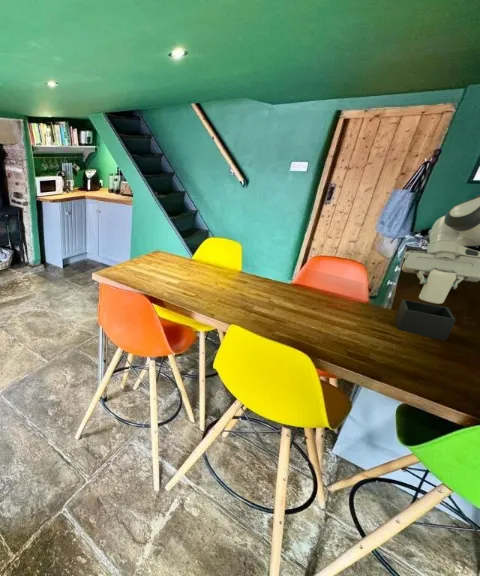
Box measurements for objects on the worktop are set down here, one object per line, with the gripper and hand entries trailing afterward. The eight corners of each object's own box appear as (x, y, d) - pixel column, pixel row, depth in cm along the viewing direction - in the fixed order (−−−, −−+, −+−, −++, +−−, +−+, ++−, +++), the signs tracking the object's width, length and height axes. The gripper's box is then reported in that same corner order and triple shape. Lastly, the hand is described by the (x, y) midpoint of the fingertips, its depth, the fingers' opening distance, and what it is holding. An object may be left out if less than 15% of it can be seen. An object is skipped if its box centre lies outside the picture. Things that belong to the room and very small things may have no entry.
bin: (438, 327, 117) (448, 307, 114) (445, 341, 108) (456, 319, 104) (394, 318, 124) (402, 299, 121) (397, 330, 115) (405, 310, 112)
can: (438, 299, 113) (453, 269, 108) (446, 305, 107) (462, 274, 103) (415, 295, 116) (429, 266, 111) (421, 301, 110) (436, 270, 106)
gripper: (408, 245, 116) (401, 275, 112) (490, 253, 104) (485, 288, 100) (402, 253, 121) (395, 283, 117) (480, 263, 109) (475, 296, 105)
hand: (437, 285), depth 109 cm, fingers closed on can, 6 cm apart
